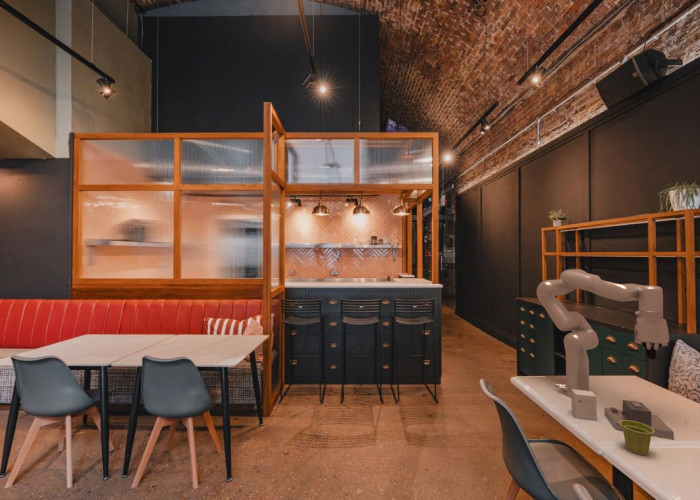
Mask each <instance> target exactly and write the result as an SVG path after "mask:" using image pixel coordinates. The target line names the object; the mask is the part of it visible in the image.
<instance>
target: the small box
mask: <svg viewBox="0 0 700 500" xmlns="http://www.w3.org/2000/svg"><path fill="white" fill-rule="evenodd" d="M571 393H572V397H571V413H572V415H573V417H575V418H576V419H579V420H580V419H581V420H588V421H589V420H590V421H597V420H598V409H597V407H598V406H597V405H598V404H597V403H598V398H597V395H595V393H594V392H593V391H590V390H589V391H583V390H574V389H572V390H571Z"/></svg>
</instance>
